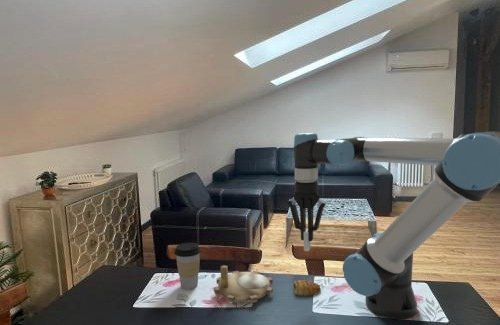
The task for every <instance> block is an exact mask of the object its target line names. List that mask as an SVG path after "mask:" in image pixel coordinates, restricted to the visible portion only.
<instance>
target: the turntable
mask: <svg viewBox="0 0 500 325" xmlns="http://www.w3.org/2000/svg"><path fill="white" fill-rule="evenodd" d="M228 272H229V271H228V265H221V266H220V276H219V277H217V278H216V284H217V285H218V286H215V287H213V292H214V295H215V296H216V295H221V296H222V297H223V298H225V299H226V302H228V303H230V304H231V303H234V302H250V303H251V304H253V303H257V302H258V300H259V299H262V298H263V297H265V296H266V295H268V296H272V294H273V293H274V288H273V287H271V285H273V284H274V280H273V277H271V276H269V277H266V276H265V275H262V274H261V273H260V272H259V271H257V270H253V271H239V270H236V271H235V270H234V271H232V272H231V273H229V274H228Z"/></svg>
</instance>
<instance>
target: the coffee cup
mask: <svg viewBox="0 0 500 325" xmlns="http://www.w3.org/2000/svg"><path fill="white" fill-rule="evenodd" d="M201 252H202V249H201V247H200V246H199V244H198V243H196V242H183V243H180V244H178V245H177V246H175V249H174V251H173V253H174V255H175V256H176V266H177V272H178V276H179V282H180V287H181V289H183V290H188V291H190V290H194V289H196V288H197V287H198V284H199V273H200V272H199V271H200V262H201V261H200V260H201V258H200V253H201Z"/></svg>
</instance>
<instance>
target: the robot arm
mask: <svg viewBox="0 0 500 325" xmlns="http://www.w3.org/2000/svg"><path fill="white" fill-rule="evenodd" d="M293 154H294V155H293V156H294V180H295V181H294V195H293V197H292V198H290V199H289V200H287V202H286V203H287V205H288V207H289V209H290V212H291V215H292V220H293V224H294V228H295V229H297V230H299V231H300V239H301V241H303V251H304V252H309V251H310V250H311V242H313V240H314V232H316V231H317V230H318V229H319V227H320V225H321V224H320V223H321V220H322V216H323V211H324V208H326V205H327V201H323V200H322V199H320V196H319V182H318V179H319V170H318V168H319V167H318V164H323V165H332V166H348V165H350V163H351V162H376V163H389V164H390V163H391V164H408V165H419V166H420V165H421V166H434V169H433V172H434V173H433V174H434V178H433V179H432V180H431V181H430V182H429V184H427V185H426V187H425V188H423V190H422V191H421V192H420V193H419V194H418V195H417V196H416V198H415V199H413V200H412V202H411V203H409V204H408V205H407V207H406V208H405V209H403V211H402V212H401V213H400V214H399V215H398V216H397V217H396V218H395V219H394V221H392V222H391V223H390V225H389V226H388V227H387V228H386V229H385V230H383V232H376V233H374V234H373V236H372V237H370V238H368V239H367V240H366V241H365V243H363V244H362V245H361V247H359V249H358V250H357V251H355V252H354V253H352V254H350V255H348V256H347V257H346V258H345V259H344V260H343V263H342V272H343V278H344V280H345V282H346V283H347V285H348V286H349V287H350V288H351V289H352V291H353V292H355V293H356V294H358V295H361V296H364V297H365V305H366V306H367V308H368V309H369V310H370V311H371V312H373V313H375V314H377V315H380V316H382V317H384V318H388V319H397V320H398V319H399V320H400V319H401V320H402V319H403V320H404V319H409V318H412V317H414V316H416V315H417V309H418V304H417V299H416V296H415V293H414V290H413V286H412V283H413V282H412V280H413V264H414V263H413V261H414V260H413V259H414V252H416V251H417V250H418V248H420V246H422V245H423V244H424V243H425V242H426V241H427V240H429V239H430V237H432V236H433V234H435V233H436V232H437V231H438V230H439V229H440V228H441V227H443V225H444V224H446V223H447V222H448V221H449V220H450V219H451V218H452V217H453V216H454V215H455V214H456V213H457V212H459V211H460V210H461V209H462V207H464V206H465V205H466V204H467V203H479V202H481V201H482V199H484V198H485V197H486V196H487V195H488V194H489V193H490V192H492V191H493V190H494V189H495V188H496V187H497V186H499V185H500V131H495V130H493V131H492V130H491V131H485V132H472V133H468V134H460V135H458V137H455V138H452V137H451V138H450V137H449V138H448V137H444V138H441V137H439V138H437V137H432V138H430V137H364V136H363V137H362V136H354V137H350V138H337V139H319V138H318V134H317V133H316V132H315V133H314V132H306V133H305V132H303V133H296V134H294V138H293ZM435 166H436V167H435ZM296 204H297V205H298V207H299V211H298V209H297V205H296ZM316 205H317V207H318V209H317V211H316V216H315V220H314V207H316ZM306 211H307V212H306ZM298 212H299V213H298ZM306 215H307V216H306Z"/></svg>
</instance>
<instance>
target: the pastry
mask: <svg viewBox="0 0 500 325" xmlns="http://www.w3.org/2000/svg"><path fill="white" fill-rule="evenodd" d="M292 287H293V291H294V294H295V295H297V296H300V297H301V296H305V297H306V296H307V297H308V296H315V295H317V294H320V293H321V291H322V290H321V284H319V283H316V282H312V281H310V280H305V279H303V280H301V279H299V280H295V281H294V282H293V284H292Z"/></svg>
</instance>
